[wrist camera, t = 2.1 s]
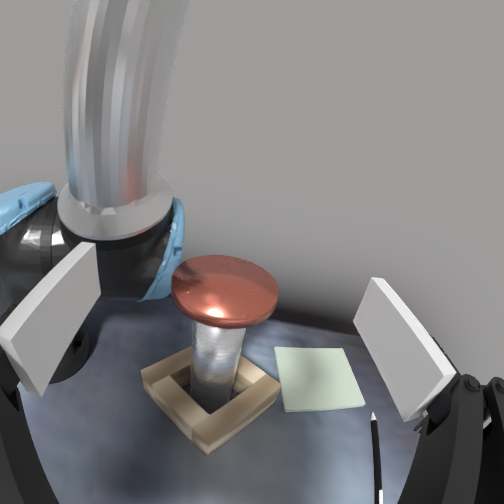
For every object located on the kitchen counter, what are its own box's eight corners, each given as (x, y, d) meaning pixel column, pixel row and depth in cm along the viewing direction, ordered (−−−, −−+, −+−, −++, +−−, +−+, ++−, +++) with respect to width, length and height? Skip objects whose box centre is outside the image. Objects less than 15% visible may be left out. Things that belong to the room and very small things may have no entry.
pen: (372, 532, 13) (377, 531, 13) (368, 413, 31) (372, 409, 30) (378, 531, 13) (384, 530, 13) (373, 413, 31) (377, 409, 30)
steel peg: (160, 391, 30) (151, 270, 22) (212, 362, 36) (227, 247, 28) (207, 441, 25) (222, 334, 17) (259, 401, 31) (299, 289, 23)
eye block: (144, 388, 29) (140, 370, 28) (212, 352, 38) (214, 333, 36) (207, 456, 23) (208, 443, 21) (274, 401, 32) (282, 384, 30)
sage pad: (284, 412, 30) (285, 410, 30) (273, 349, 41) (274, 346, 41) (363, 406, 32) (365, 403, 31) (341, 350, 42) (342, 348, 42)
